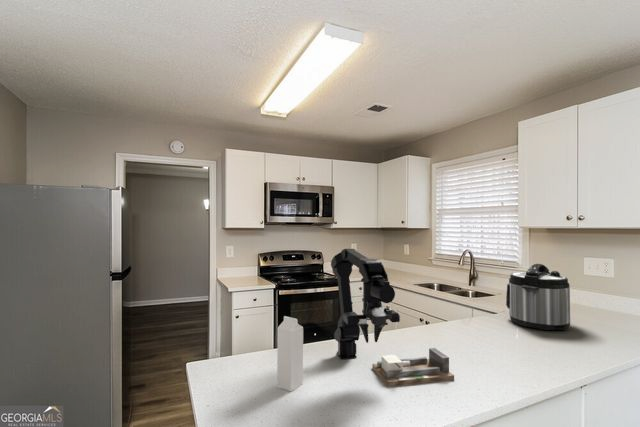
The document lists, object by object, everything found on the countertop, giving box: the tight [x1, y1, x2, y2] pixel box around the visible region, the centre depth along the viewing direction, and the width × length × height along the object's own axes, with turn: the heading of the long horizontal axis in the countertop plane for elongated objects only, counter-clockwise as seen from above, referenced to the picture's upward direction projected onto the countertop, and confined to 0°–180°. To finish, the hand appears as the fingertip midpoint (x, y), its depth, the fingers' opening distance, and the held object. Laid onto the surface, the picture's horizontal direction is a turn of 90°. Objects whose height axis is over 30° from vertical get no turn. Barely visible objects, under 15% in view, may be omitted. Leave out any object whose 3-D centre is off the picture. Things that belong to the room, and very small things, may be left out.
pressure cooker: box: [505, 263, 571, 331], centre depth 178 cm, size 30×28×32 cm
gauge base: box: [371, 347, 455, 387], centre depth 118 cm, size 24×14×6 cm, turn 102°
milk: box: [276, 315, 304, 393], centre depth 109 cm, size 6×6×22 cm
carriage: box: [381, 354, 410, 373], centre depth 115 cm, size 9×10×4 cm
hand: (371, 342), depth 115 cm, fingers open, 3 cm apart
